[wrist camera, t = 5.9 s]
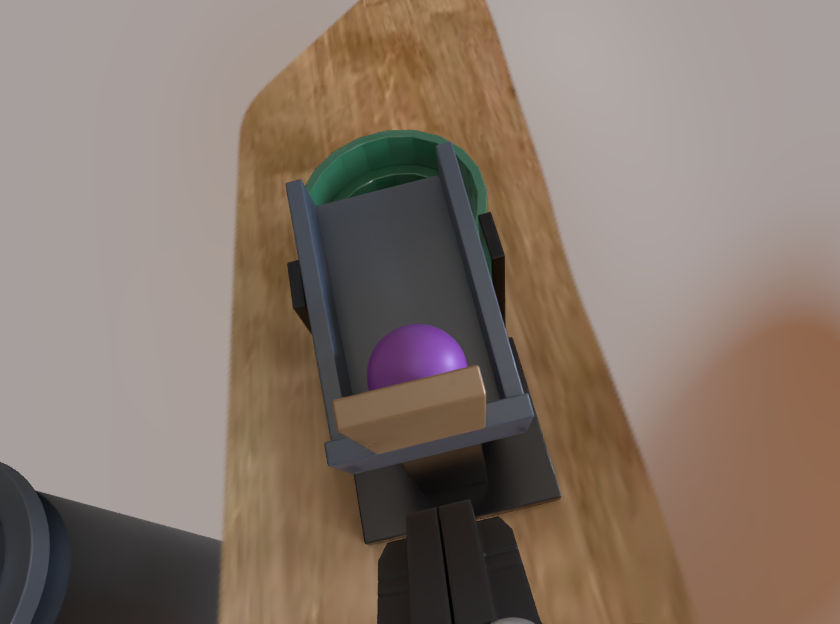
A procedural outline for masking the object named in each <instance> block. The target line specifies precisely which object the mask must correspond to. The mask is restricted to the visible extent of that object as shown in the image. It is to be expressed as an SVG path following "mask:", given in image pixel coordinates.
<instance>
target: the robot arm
mask: <svg viewBox="0 0 840 624" xmlns="http://www.w3.org/2000/svg"><path fill="white" fill-rule="evenodd" d="M439 509H440V514H439V511H438V508H437V507H435V508H431V509H427V510H422V511H418V512H414V513H410V514H406V535H407V538H406V539H402V540H397V541H393V542H389V543H387V545H386V547H385V549H384V551H383V553H382V555H381V557H380V559H379V561H378V582H379V583H378V614H377V624H542V622H541V621H540V618H539V616H538V612H537V609H536V606H535V602H534V599H533V596H532V593H531V589H530V586H529V583H528V580H527V576H526V573H525V570H524V566H523V564H522V560H521V557H520V553H519V550H518V547H517V543H516V540H515V537H514V534H513V530H512V528H510V527H509V526H508V525H507V524H506V523H505V522H504V521H503V520H502V519H501V518H500V517H499V516H497V517H493V518H489V519H485V520H481V521H476V520H475V516H474V512H473V508H472V504H471V500H470V499H468V500H464V501H460V502H455V503H451V504H447V505H443V506H439ZM440 517H441V518H440ZM3 563H4V534H3V528H2V524H1V520H0V578H1V574H2V569H3Z"/></svg>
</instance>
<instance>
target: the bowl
mask: <svg viewBox="0 0 840 624" xmlns="http://www.w3.org/2000/svg"><path fill="white" fill-rule="evenodd" d="M447 142H450V141H448V140H446V139H445V138H443V137H440V136H438V135H434V134H430V133H425V132H421V131H417V130H387V131H382V132H378V133H375V134H371V135H367V136H363V137H360V138H357V139H356V140H354V141H352V142H350V143H348V144H347V145H345V146H343V147H341V148H339V149H337V150H336V151H335V152H333V153H332V154H331V155H330V156H329V157H328V158H327V159H325V160H324V161H323V162H322V163H321V164H320V165H319V166H318V167H317V168H316V169H315V170H314V172H313V173H312V175H311V177H310V179H309V180H308V182H307V184H306V185H305V187H306V189H307V191H308V193H309V195H310V196H311V198H312V200H313V202H314V204H315V206H319V205H323V204H327V203H331V202H335V201H339V200H342V199H346V198H350V197H354V196H358V195H362V194H366V193H370V192H374V191H378V190H382V189H386V188H390V187H394V186H398V185H402V184H406V183H410V182H414V181H418V180H422V179H426V178H430V177H434V176H437V175H439V171H438V163H437V155H436V148H435V147H436V145H439V144H443V143H447ZM452 144H453V143H452ZM453 148H454V151H455V155H456V158H457V162H458V165H459V169H460V172H461V176H462V179H463V183H464V186H465V190H466V193H467V197H468V200H469V204H470V207H471V211H472V214H473V218H474V221H475V225H476V228H477V232H478V235H479V225H478V215H479V214H483V213H487V212H488V193H487V189H486V186H485V183H484V180H483V177H482V174H481V171H480V169H479V167H478V166H477V165H476V164H475V163H474V161H473V160H472V159H471V158H470V157H469V156H468V154H467V153H466V152H465V151H464V150H463V149H462V148H460V147H458V146H457V145H455V144H453ZM479 238H480V237H479Z"/></svg>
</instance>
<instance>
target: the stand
mask: <svg viewBox="0 0 840 624" xmlns="http://www.w3.org/2000/svg"><path fill="white" fill-rule="evenodd" d="M478 225H479V237H480V242H481V245H482V249H483V252H484V256H485V259H486V263H487V266H488V270H489V273H490V277H491V280H492V284H493V287H494V291H495V294H496V298H497V301H498V305H499V308H500V312H501V315H502V319H503V322H504V326H505V329H506V320H505V255H504V252H503V248H502V245H501V242H500V239H499V236H498V233H497V230H496V227H495V224H494V221H493V218H492V214H491V212H487V213H483V214H479V215H478ZM287 266H288V273H289V281H290V289H291V296H292V304H293V309H294V310H295V312H296V313H297V314H298V316H299V317H300V319H301V320H302V322H303V323H304V325H305V326H306V327H307V329H308V330H309V332H310V333H311V335H312V331H311V326H310V320H309V314H308V309H307V303H306V297H305V292H304V286H303V281H302V275H301V269H300V264H299V260H297V261H293V262H289V263H288V264H287ZM508 340H509V343H510V347H511V350H512V354H513V357H514V361H515V364H516V368H517V371H518V375H519V378H520V382H521V385H522V389H523V392H524V394H525V393H527V394H528V396H529V399H530V402H531V406H532V409H533V413H534V417H533V419H532V421H531V423H530V425H529V427H528V429H527V431H526V432H525V433H521V434H517V435H513V436H509V437H505V438H501V439H497V440H493V441H488V442H484V443H480V444H476V445H472V446H468V447H464V448H460V449H456V450H451V451H447V452H443V453H439V454H435V455H431V456H427V457H423V458H419V459H415V460H410V461H406V462H402V463H398V464H394V465H390V466H386V467H382V468H378V469H373V470H369V471H365V472H361V473H357V474H354V479H355V485H356V491H357V497H358V504H359V510H360V516H361V522H362V529H363V535H364V541H365V544H367V545H369V546H370V545H374V544H378V543H382V542H386V541H391V540H395V539H399V538H403V537H407V535H406V514H410V513H414V512H418V511H422V510H427V509H431V508H435V507H437V508H438V511H439V514H440V509H439V506H443V505H447V504H451V503H455V502H460V501H464V500H468V499H470V500H471V504H472V508H473V512H474V516H475V520H478V519H482V518H486V517H490V516H494V515H499V514H503V513H507V512H511V511H515V510H519V509H523V508H528V507H532V506H536V505H540V504H544V503H548V502H552V501H557V500H560V498H561V493H560V490H559V486H558V483H557V480H556V477H555V473H554V470H553V467H552V464H551V460H550V457H549V454H548V451H547V447H546V444H545V441H544V438H543V434H542V431H541V428H540V425H539V421H538V418H537V415H536V412H535V408H534V405H533V402H532V399H531V395H530V392H529V389H528V386H527V382H526V379H525V376H524V373H523V370H522V366H521V363H520V360H519V357H518V353H517V350H516V347H515V344H514V340H513V338H512V337H511V338H508ZM440 518H441V517H440Z"/></svg>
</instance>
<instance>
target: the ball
mask: <svg viewBox="0 0 840 624" xmlns="http://www.w3.org/2000/svg"><path fill="white" fill-rule="evenodd" d="M465 367H468V364H467V360H466V357H465V355H464V352H463V351H462V349H461V347H460V346H459V344H458V343H457V342H456V341H455V340H454V339H453V338H452V337H451V336H450V335H449V334H447V333H446V332H445V331H443V330H441V329H439V328H437V327H434V326H431V325H425V324H410V325H405V326H402V327H399V328H397V329H395V330H393V331H391V332H390V333H388V334H387V335H386V336H385V337H383V338H382V339H381V340H380V342H379V343H378V344H377V345H376V347H375V348H374V350H373V352H372V354H371V356H370V359H369V362H368V367H367V383H368V388H369V391H371V390H375V389H380V388H384V387H388V386H392V385H396V384H400V383H404V382H408V381H412V380H416V379H420V378H424V377H428V376H432V375H436V374H441V373H445V372H449V371H453V370H457V369H461V368H465Z"/></svg>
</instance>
